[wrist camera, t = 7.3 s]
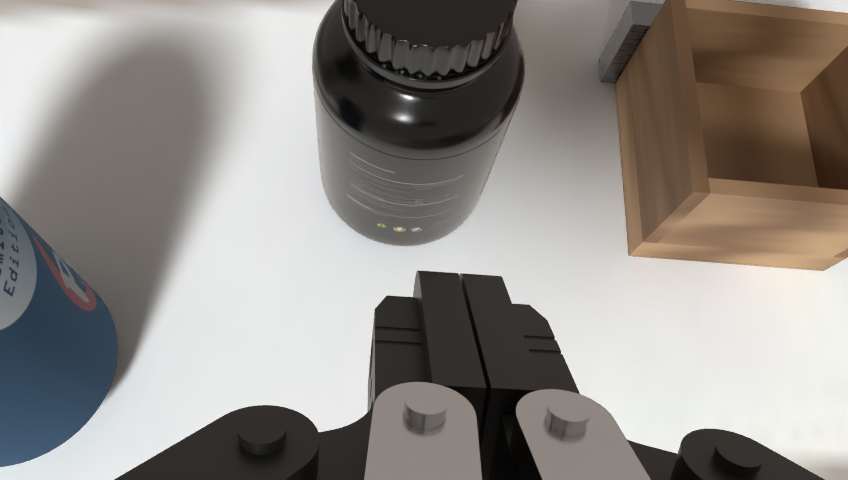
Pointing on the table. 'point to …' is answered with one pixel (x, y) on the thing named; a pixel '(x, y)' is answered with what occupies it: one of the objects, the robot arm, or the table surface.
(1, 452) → the soda can
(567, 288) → the table surface
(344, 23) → the supplement bottle
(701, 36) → the walnut holder
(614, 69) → the bar
